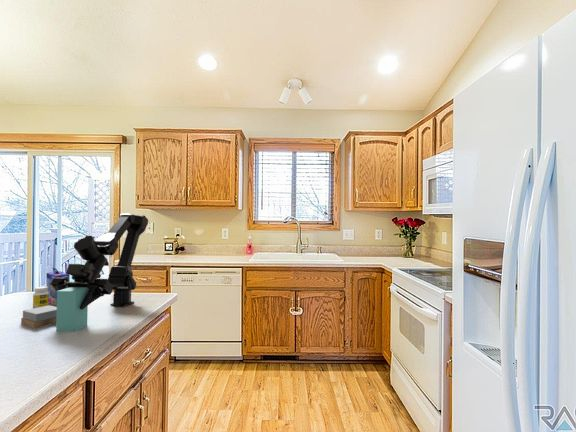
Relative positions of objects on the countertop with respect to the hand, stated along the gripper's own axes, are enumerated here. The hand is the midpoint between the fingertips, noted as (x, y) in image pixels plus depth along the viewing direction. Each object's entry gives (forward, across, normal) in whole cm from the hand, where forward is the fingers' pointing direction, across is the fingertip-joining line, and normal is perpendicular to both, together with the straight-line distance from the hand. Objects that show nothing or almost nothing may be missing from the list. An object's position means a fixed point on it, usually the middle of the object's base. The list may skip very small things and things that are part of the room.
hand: (69, 308), depth 106 cm
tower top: (-1, -14, +8) cm, 15 cm away
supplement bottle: (-10, -26, +19) cm, 34 cm away
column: (+4, 0, +6) cm, 7 cm away
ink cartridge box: (-17, -27, +26) cm, 42 cm away
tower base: (+1, -13, +9) cm, 16 cm away
